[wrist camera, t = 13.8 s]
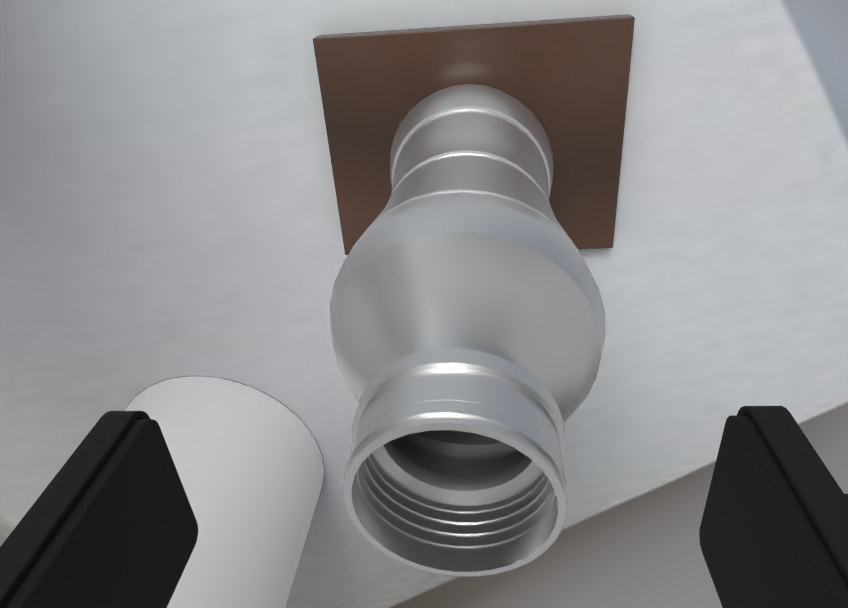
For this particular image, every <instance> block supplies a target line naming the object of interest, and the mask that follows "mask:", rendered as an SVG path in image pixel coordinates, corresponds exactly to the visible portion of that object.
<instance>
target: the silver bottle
mask: <svg viewBox="0 0 848 608" xmlns="http://www.w3.org/2000/svg"><path fill="white" fill-rule="evenodd" d="M390 179H391V184H392V193H391V197H390V199H389V201H388V203H387V205H386V207H385V209H384V210H383V211H382V212H381V213H380V214H379V216H378V217H377V218H376V219H375V220H374V222H373V223H372V224H371V225H370V227H368V228H367V230H366V231H365V232H364V233H363V235H362V236H361V237H360V238H359V240H358V241H357V242H356V243H355V245H354V246H353V248H352V249H351V251H350V253H349V255H348V256H347V258H346V259H345V261H344V263H343V265H342V267H341V269H340V272H339V274H338V276H337V278H336V280H335V282H334V287H333V292H332V297H331V302H330V318H331V332H332V340H333V347H334V351H335V355H336V359H337V362H338V366H339V369H340V371H341V373H342V375H343V377H344V379H345V381H346V383H347V384H348V386H349V388H350V390H351V391H352V393H353V394H354V396H355V397H356V399H357V400H358V402H359V404H358V407H357V411H356V414H355V418H354V422H353V426H352V443H353V445H352V448H351V452H350V455H349V458H348V462H347V466H346V469H345V473H344V485H343V487H344V502H345V506H346V509H347V512H348V515H349V517H350V518H351V520H352V522H353V523H354V525H355V527H356V528H357V530H358V531H359V532H360V533H361V534H362V535H363V536H364V537H365V538H366V540H367V541H368V542H370V543H371V544H372V545H373V546H375V547H376V548H377V549H379V550H380V551H381V552H383V553H384V554H386V555H388V556H390V557H391V558H393V559H395V560H397V561H399V562H401V563H404V564H406V565H409V566H411V567H414V568H416V569H420V570H424V571H428V572H432V573H436V574H443V575H450V576H483V575H491V574H497V573H501V572H505V571H509V570H512V569H515V568H517V567H520V566H522V565H524V564H526V563H529V562H531V561H532V560H534V559H535V558H537V557H538V556H540V555H541V554H543V553H544V552H545V551H546V550H547V549H548V548H549V547H550V546H551V545H552V544H553V543H554V542H555V540H556V539H557V537H558V535H559V533H560V532H561V530H562V528H563V525H564V521H565V517H566V507H567V487H566V481H565V473H564V466H563V465H564V461H565V456H566V439H565V431H564V424H563V423H564V422H565V421H566V420H567V419H568V418H569V417H570V416H571V415H572V414H573V413H574V411H575V410H576V409H577V408H578V407H579V405H580V404H581V403H582V402H583V401H584V399H585V398H586V397H587V395H588V393H589V391H590V389H591V387H592V385H593V383H594V381H595V379H596V375H597V371H598V367H599V363H600V359H601V354H602V349H603V344H604V339H605V311H604V307H603V303H602V299H601V295H600V291H599V288H598V286H597V284H596V282H595V280H594V278H593V276H592V274H591V272H590V270H589V268H588V266H587V264H586V262H585V260H584V259H583V257H582V255H581V253H580V251H579V250H578V249H577V247H576V246H575V245H574V243H573V242H572V240H571V239H570V238H569V236H568V235H567V233H566V232H565V231H564V229H563V228H562V226H561V225H560V224H559V222H558V221H557V219H556V217H555V215H554V213H553V210H552V208H551V206H550V203H549V197H550V193H551V187H552V181H553V154H552V150H551V146H550V142H549V138H548V136H547V134H546V132H545V130H544V128H543V126H542V124H541V123H540V122H539V120H538V119H537V118H536V117H535V115H534V114H533V113H532V111H531V110H529V109H528V108H527V107H526V106H525V105H524V104H522V103H521V102H520V101H519V100H517V99H516V98H514V97H512V96H510V95H508V94H506V93H505V92H503V91H501V90H499V89H495V88H492V87H489V86H486V85H477V84H463V85H455V86H451V87H448V88H445V89H442V90H439V91H437V92H435V93H433V94H432V95H430V96H428V97H426V98H424V99H423V100H421V101H420V102H419V103H418V104H417V105H416V106H414V107H413V108H412V109H411V110H410V111H409V112H408V114H407V115H406V116H405V118H404V119H403V120H402V122H401V123H400V125H399V128H398V130H397V132H396V134H395V136H394V139H393V144H392V148H391V157H390Z"/></svg>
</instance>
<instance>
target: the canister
mask: <svg viewBox="0 0 848 608" xmlns="http://www.w3.org/2000/svg"><path fill="white" fill-rule="evenodd" d="M124 411H144V412H146V413H147V414H148V415H149V417H150V419H154V420H156V421H157V422H158V424H159V426H160V429H161V431H162V434H163V436H164V439H165V441H166V444H167V446H168V449H169V452H170V454H171V457H172V459H173V462H174V464H175V467H176V469H177V472H178V475H179V477H180V480H181V482H182V485H183V487H184V490H185V492H186V495H187V498H188V500H189V503H190V505H191V508H192V510H193V513H194V515H195V518H196V521H197V524H198V538H197V542H196V545H195V547H194V549H193V552H192V554H191V556H190V558H189V560H188V562H187V565H186V567H185V569H184V571H183V573H182V576H181V578H180V580H179V582H178V584H177V586H176V589H175V591H174V593H173V595H172V597H171V600H170V602H169V604H168V606H167V608H286V604H287V601H288V598H289V594H290V591H291V588H292V584H293V581H294V578H295V574H296V571H297V568H298V564H299V561H300V558H301V554H302V551H303V548H304V544H305V541H306V538H307V534H308V531H309V528H310V524H311V521H312V518H313V514H314V511H315V508H316V504H317V501H318V498H319V494H320V491H321V488H322V484H323V479H324V464H323V459H322V455H321V452H320V449H319V447H318V445H317V443H316V441H315V439H314V437H313V436H312V434H311V433H310V431H309V430H308V428H307V427H306V426H305V425H304V424H303V422H302V421H301V420H300V419H299V418H298V417H297V416H296V415H295V414H294V413H292V412H291V411H290V410H289V409H288V408H286V407H285V406H284V405H282V404H281V403H279V402H278V401H276V400H275V399H273V398H272V397H270V396H268V395H266V394H264V393H262V392H260V391H258V390H256V389H254V388H251V387H249V386H246V385H243V384H240V383H237V382H233V381H230V380H225V379H220V378H213V377H202V376H191V377H180V378H174V379H169V380H166V381H162V382H160V383H157V384H155V385H153V386H150V387H149V388H147V389H145V390H144V391H142V392H141V393H140V394H138V395H137V396H136V397H135V398H134V399H133V400H132V402H131V403H130V404H129V405H128V407H127V408H126V409H125V410H124Z"/></svg>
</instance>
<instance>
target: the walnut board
mask: <svg viewBox="0 0 848 608" xmlns="http://www.w3.org/2000/svg"><path fill="white" fill-rule="evenodd" d="M634 19H635V18H634V17H633V16H631V15H615V16H600V17H586V18H571V19H556V20H541V21H526V22H511V23H496V24H481V25H467V26H452V27H437V28H422V29H407V30H392V31H377V32H362V33H348V34H333V35H319V36H317V37H315V38H313V43H314V49H315V56H316V63H317V69H318V76H319V83H320V89H321V96H322V103H323V109H324V116H325V123H326V129H327V136H328V143H329V149H330V156H331V163H332V169H333V176H334V183H335V189H336V196H337V203H338V209H339V216H340V223H341V229H342V236H343V243H344V249H345V255H349V253H350V251H351V249H352V248H353V246H354V245H355V243H356V242H357V241H358V240H359V238H360V237H361V236H362V235H363V233H364V232H365V231H366V230H367V228H368V227H370V225H371V224H372V223H373V222H374V220H375V219H376V218H377V217H378V216H379V214H380V213H381V212H382V211H383V210H384V209H385V207H386V205H387V203H388V201H389V199H390V197H391V193H392V184H391V179H390V157H391V148H392V144H393V139H394V136H395V134H396V132H397V130H398V128H399V125H400V123H401V122H402V120H403V119H404V118H405V116H406V115H407V114H408V112H409V111H410V110H411V109H412V108H413V107H414V106H416V105H417V104H418V103H419V102H420V101H421V100H423V99H424V98H426V97H428V96H430V95H432V94H433V93H435V92H437V91H439V90H442V89H445V88H448V87H451V86H455V85H463V84H477V85H486V86H489V87H492V88H495V89H499V90H501V91H503V92H505V93H506V94H508V95H510V96H512V97H514V98H516V99H517V100H519V101H520V102H521V103H522V104H524V105H525V106H526V107H527V108H528V109H529V110H531V111H532V113H533V114H534V115H535V117H536V118H537V119H538V120H539V122H540V123H541V124H542V126H543V128H544V130H545V132H546V134H547V136H548V138H549V142H550V146H551V150H552V154H553V181H552V187H551V193H550V197H549V203H550V206H551V208H552V210H553V213H554V215H555V217H556V219H557V221H558V222H559V224H560V225H561V226H562V228H563V229H564V231H565V232H566V233H567V235H568V236H569V238H570V239H571V240H572V242H573V243H574V245H575V246H576V247H577V249H584V248H612V247H613V239H614V229H615V218H616V208H617V197H618V187H619V176H620V166H621V155H622V145H623V134H624V124H625V113H626V103H627V92H628V82H629V71H630V61H631V50H632V40H633V29H634Z"/></svg>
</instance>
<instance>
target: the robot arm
mask: <svg viewBox="0 0 848 608" xmlns="http://www.w3.org/2000/svg"><path fill="white" fill-rule="evenodd" d="M197 538H198V524H197V521H196V518H195V515H194V513H193V510H192V508H191V505H190V503H189V500H188V498H187V495H186V492H185V490H184V487H183V485H182V482H181V480H180V477H179V475H178V472H177V469H176V467H175V464H174V462H173V459H172V457H171V454H170V452H169V449H168V446H167V444H166V441H165V439H164V436H163V434H162V431H161V429H160V426H159V424H158V422H157V421H156V420H154V419H150V417H149V415H148V414H147V413H146V412H144V411H109V412H107V413H105V414H104V415H103V416H102V417H101V418H100V419H99V421H98V422H97V423H96V425H95V426H94V427H93V428H92V430H91V431H90V432H89V434H88V435H87V436H86V437H85V439H84V440H83V441H82V443H81V444H80V445H79V446H78V448H77V449H76V450H75V452H74V453H73V454H72V455H71V457H70V458H69V459H68V461H67V462H66V463H65V464H64V466H63V467H62V468H61V470H60V471H59V472H58V473H57V475H56V476H55V477H54V479H53V480H52V481H51V482H50V484H49V485H48V486H47V488H46V489H45V490H44V491H43V493H42V494H41V495H40V497H39V498H38V499H37V500H36V502H35V503H34V504H33V506H32V507H31V508H30V510H29V511H28V512H27V513H26V515H25V516H24V517H23V519H22V520H21V521H20V522H19V524H18V525H17V526H16V528H15V529H14V530H13V531H12V533H11V534H10V535H9V537H8V538H7V539H6V541H5V542H4V543H3V544H2V546H1V547H0V608H167V606H168V604H169V602H170V600H171V597H172V595H173V593H174V591H175V589H176V586H177V584H178V582H179V580H180V578H181V576H182V573H183V571H184V569H185V567H186V565H187V562H188V560H189V558H190V556H191V554H192V552H193V549H194V547H195V545H196V542H197ZM700 545H701V549H702V553H703V556H704V558H705V561H706V564H707V566H708V569H709V572H710V574H711V577H712V580H713V582H714V585H715V588H716V591H717V593H718V596H719V599H720V601H721V604H722V607H723V608H848V494H844V493H843V492H842V490H841V489H840V487H839V486H838V484H837V483H836V481H835V480H834V478H833V477H832V475H831V474H830V472H829V471H828V469H827V468H826V466H825V465H824V463H823V462H822V460H821V459H820V457H819V456H818V454H817V453H816V451H815V450H814V448H813V447H812V445H811V444H810V442H809V441H808V439H807V438H806V436H805V435H804V433H803V432H802V430H801V429H800V427H799V426H798V424H797V423H796V421H795V420H794V418H793V416H792V415H791V413H790V412H789V411H788V410H787V409H786V408H785V407H783V406H744V407H741V408H740V410H739V411H738V414H737V416H729V417H728V418H727V420H726V423H725V427H724V432H723V436H722V440H721V444H720V448H719V452H718V456H717V460H716V464H715V469H714V473H713V477H712V481H711V485H710V489H709V493H708V497H707V501H706V506H705V509H704V514H703V518H702V522H701V526H700Z"/></svg>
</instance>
